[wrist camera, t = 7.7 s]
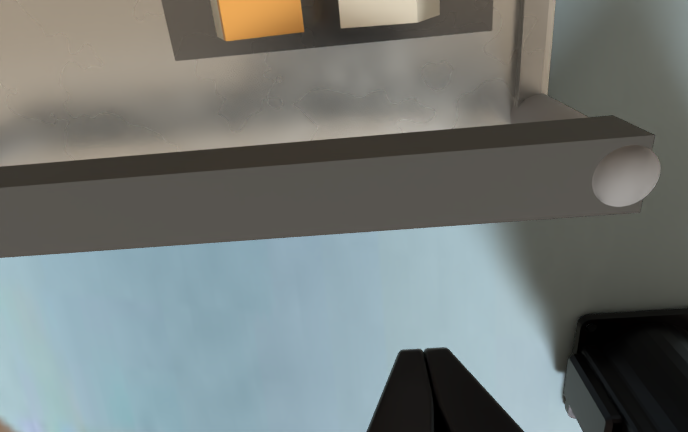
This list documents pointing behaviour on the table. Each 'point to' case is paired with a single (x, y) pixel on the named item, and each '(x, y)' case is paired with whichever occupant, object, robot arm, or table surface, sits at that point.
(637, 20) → the table surface
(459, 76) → the panel
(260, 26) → the paddle
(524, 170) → the gray bar rack
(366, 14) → the paddle on
